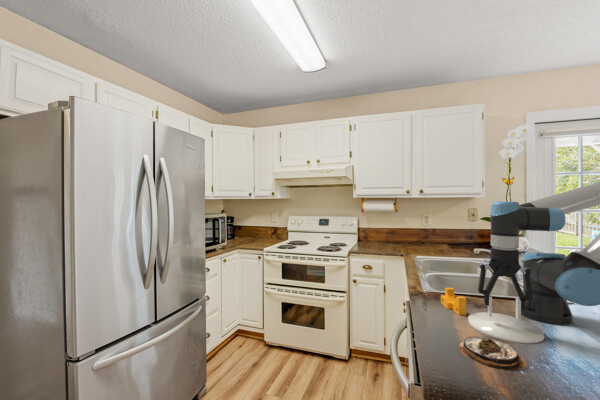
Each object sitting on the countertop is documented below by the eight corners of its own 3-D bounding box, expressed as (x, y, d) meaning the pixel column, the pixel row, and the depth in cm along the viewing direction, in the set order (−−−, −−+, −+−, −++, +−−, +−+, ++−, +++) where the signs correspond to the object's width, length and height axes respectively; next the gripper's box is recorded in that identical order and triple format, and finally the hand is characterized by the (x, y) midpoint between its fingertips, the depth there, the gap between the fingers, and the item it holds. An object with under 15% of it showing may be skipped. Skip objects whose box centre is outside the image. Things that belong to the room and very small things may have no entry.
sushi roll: (532, 379, 64) (532, 361, 64) (459, 362, 72) (459, 346, 72) (519, 348, 77) (518, 333, 77) (458, 337, 84) (457, 323, 84)
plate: (532, 322, 95) (532, 319, 95) (554, 351, 77) (555, 347, 77) (465, 311, 104) (465, 308, 104) (471, 335, 86) (471, 331, 86)
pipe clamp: (440, 302, 113) (440, 287, 113) (451, 303, 113) (451, 287, 113) (453, 315, 101) (453, 297, 101) (466, 315, 101) (466, 298, 101)
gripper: (539, 248, 89) (538, 318, 89) (467, 243, 98) (467, 307, 98) (547, 252, 82) (546, 328, 83) (470, 247, 91) (469, 315, 92)
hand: (503, 317), depth 90 cm, fingers open, 7 cm apart
